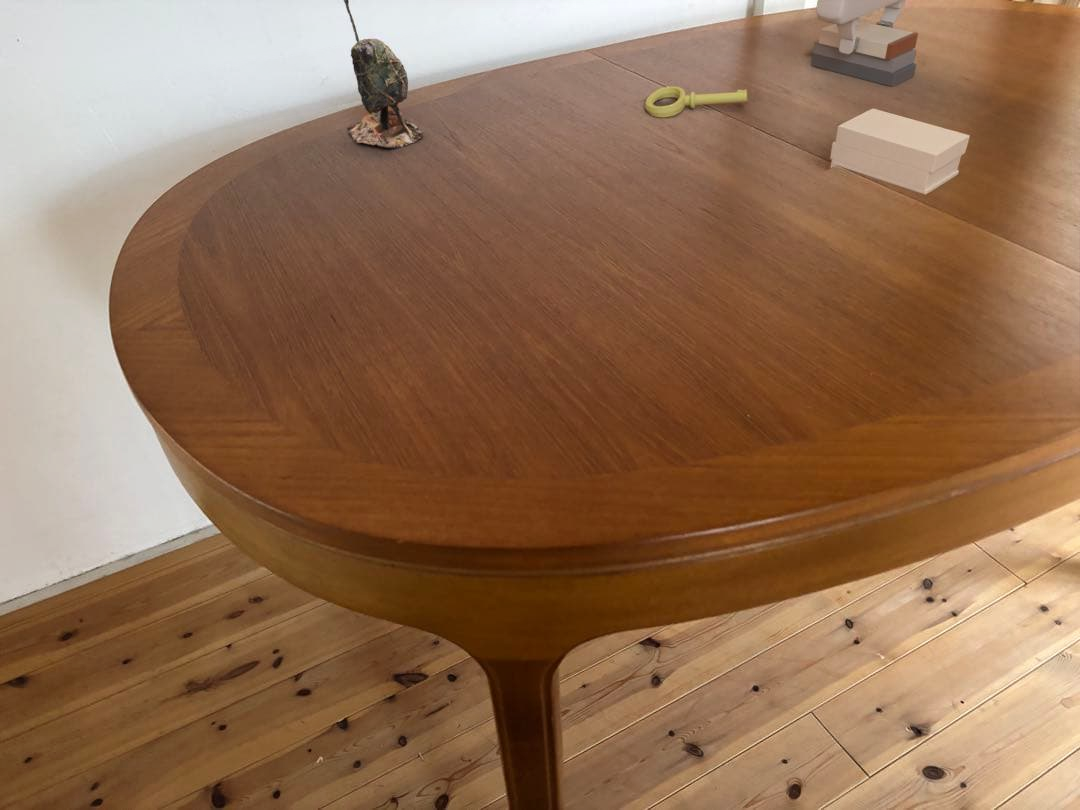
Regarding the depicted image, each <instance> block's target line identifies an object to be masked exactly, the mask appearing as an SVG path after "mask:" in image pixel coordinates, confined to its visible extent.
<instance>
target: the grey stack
mask: <svg viewBox="0 0 1080 810" xmlns="http://www.w3.org/2000/svg"><path fill="white" fill-rule="evenodd" d="M916 54H917V49H912V50H910V51H908V52H905V53H903V54H901V55H899V56H897V57H895V58H892V59H890V60H886V59H883V58H879V57H875V56H870V55H866V54H862V53H858V52H853V53H850V54H845V53H841V52H840V51H839V48H837V47H832V46H828V45H824V44H820V43H819V39H817V40H814V43H813V49H812V56H811V63H810V66H811V67H815V68H818V69H822V70H826V71H829V72H834V73H837V74H842V75H845V76H849V77H853V78H856V79H862V80H865V81H869V82H872V83H876V84H880V85H883V86H887V87H895V86H897V85H899V84H901V83H903V82H905V81H907V80H910V79H911V78H913V77H915V73H916V69H917V63H915V59H916Z"/></svg>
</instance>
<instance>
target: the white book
mask: <svg viewBox="0 0 1080 810" xmlns="http://www.w3.org/2000/svg"><path fill="white" fill-rule="evenodd" d="M855 29H856V37H860V39H859V43H858V49H857V50H856V51H855V52H858V53H862V54H866V55H870V56H875V57H879V58H883V59H886V60H890V59H892V58H895V57H897V56H899V55H901V54H903V53H905V52H908V51H910V50H912V49H913V50H915V49H916V46H917V42H918V41H917V40H918V36H919V32H915V31H909V30H905V29H900V28H896V27H894V28H891V27H886V26H881V25H877V23H872V22H867V21H862V20H859V23H858V25H857V26H855ZM840 38H841V37H840V35H839V31H838V27H837V24H832V23H831V24H830V25H828V26H824V27H823V28H821V29H820V32H819V38H818V40H819V43H820V44H824V45H828V46H832V47H837V48H839V45H840Z"/></svg>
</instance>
